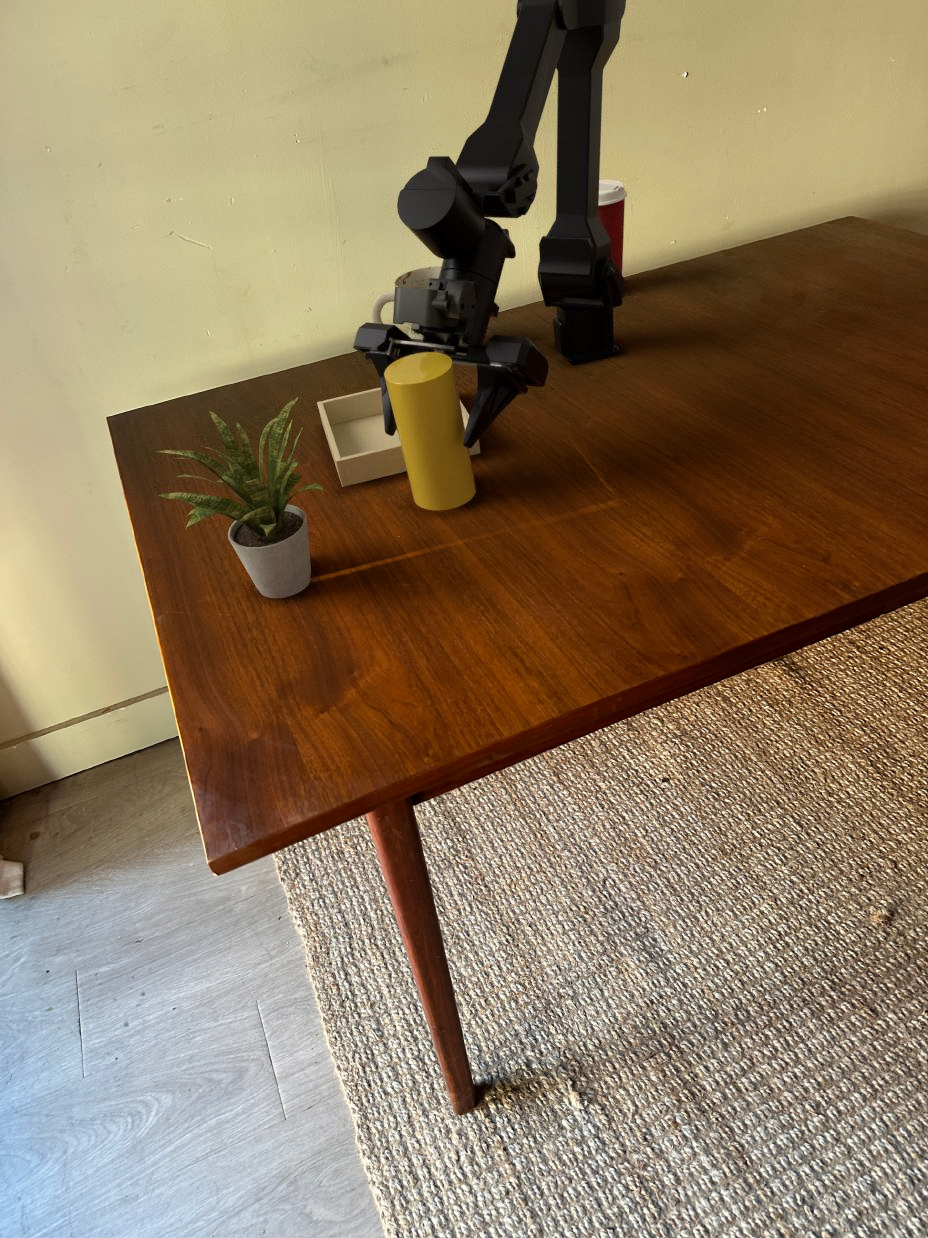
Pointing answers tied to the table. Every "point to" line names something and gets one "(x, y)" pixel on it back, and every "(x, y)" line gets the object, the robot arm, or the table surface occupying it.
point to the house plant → (258, 508)
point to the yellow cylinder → (431, 430)
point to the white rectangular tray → (364, 437)
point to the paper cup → (613, 216)
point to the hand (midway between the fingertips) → (427, 440)
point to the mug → (406, 280)
